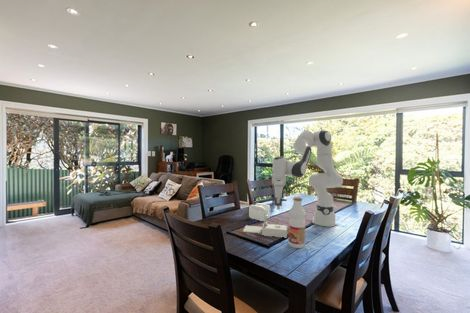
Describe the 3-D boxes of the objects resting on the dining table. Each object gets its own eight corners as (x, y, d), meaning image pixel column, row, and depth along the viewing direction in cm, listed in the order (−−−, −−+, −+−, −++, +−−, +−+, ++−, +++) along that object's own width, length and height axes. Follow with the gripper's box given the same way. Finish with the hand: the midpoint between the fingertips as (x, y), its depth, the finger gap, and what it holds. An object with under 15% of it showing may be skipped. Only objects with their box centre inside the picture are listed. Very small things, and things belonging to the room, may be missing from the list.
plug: (274, 207, 151) (275, 196, 150) (286, 208, 149) (286, 197, 149) (274, 209, 146) (274, 198, 146) (286, 210, 145) (286, 198, 144)
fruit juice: (306, 249, 127) (307, 200, 126) (289, 248, 127) (291, 199, 127) (302, 242, 136) (303, 196, 136) (287, 241, 137) (288, 196, 136)
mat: (245, 226, 163) (245, 225, 163) (262, 227, 160) (262, 226, 160) (242, 232, 151) (242, 231, 151) (260, 233, 149) (260, 232, 149)
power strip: (262, 230, 155) (263, 222, 155) (286, 232, 151) (286, 224, 151) (261, 235, 146) (261, 227, 146) (286, 237, 143) (287, 229, 142)
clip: (263, 225, 149) (263, 215, 149) (264, 220, 160) (264, 210, 160) (267, 226, 148) (267, 215, 148) (267, 221, 159) (268, 211, 159)
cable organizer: (270, 219, 181) (271, 205, 180) (263, 222, 173) (263, 207, 173) (256, 215, 191) (256, 202, 190) (248, 218, 183) (248, 204, 183)
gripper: (274, 178, 158) (274, 198, 159) (273, 183, 138) (272, 205, 139) (283, 179, 157) (283, 198, 157) (283, 183, 137) (283, 206, 137)
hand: (278, 201), depth 148 cm, fingers closed on plug, 5 cm apart
